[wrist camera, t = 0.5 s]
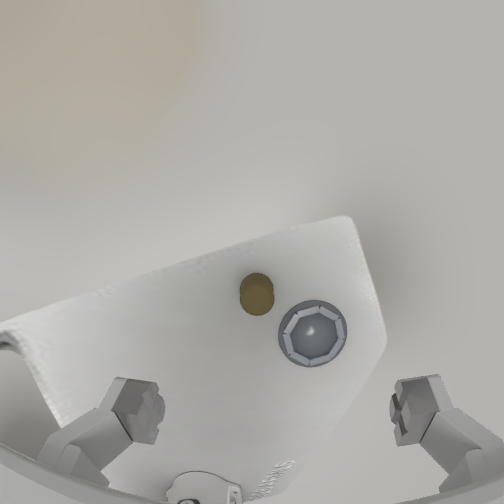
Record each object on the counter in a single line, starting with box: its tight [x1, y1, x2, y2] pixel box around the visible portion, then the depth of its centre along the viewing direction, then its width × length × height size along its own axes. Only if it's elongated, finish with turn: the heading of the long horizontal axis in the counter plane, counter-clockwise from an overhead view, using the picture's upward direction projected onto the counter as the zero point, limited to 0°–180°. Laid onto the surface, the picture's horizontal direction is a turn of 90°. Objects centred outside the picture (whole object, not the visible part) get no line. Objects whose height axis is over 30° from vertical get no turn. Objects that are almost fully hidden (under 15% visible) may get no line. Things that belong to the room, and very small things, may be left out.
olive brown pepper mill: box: [240, 273, 274, 316], centre depth 53 cm, size 6×6×11 cm
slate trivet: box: [279, 300, 347, 367], centre depth 58 cm, size 13×13×2 cm
